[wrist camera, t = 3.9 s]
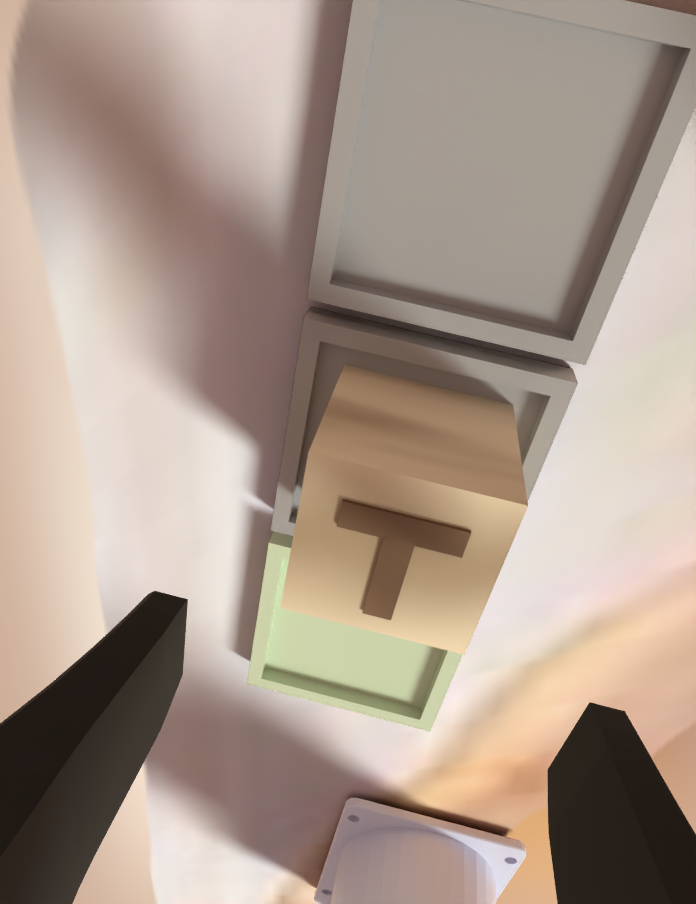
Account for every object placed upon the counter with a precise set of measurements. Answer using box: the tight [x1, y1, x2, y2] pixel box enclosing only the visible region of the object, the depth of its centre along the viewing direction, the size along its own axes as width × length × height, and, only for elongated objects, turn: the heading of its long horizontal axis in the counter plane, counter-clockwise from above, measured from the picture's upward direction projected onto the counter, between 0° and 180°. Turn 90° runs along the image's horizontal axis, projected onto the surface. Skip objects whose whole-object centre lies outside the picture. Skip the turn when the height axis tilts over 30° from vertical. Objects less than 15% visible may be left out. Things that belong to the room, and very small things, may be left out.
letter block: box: [280, 365, 528, 655], centre depth 16 cm, size 5×5×5 cm
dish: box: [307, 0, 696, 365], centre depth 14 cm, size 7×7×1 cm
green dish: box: [247, 531, 463, 731], centre depth 22 cm, size 7×7×1 cm
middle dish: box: [271, 307, 578, 536], centre depth 18 cm, size 7×7×1 cm
